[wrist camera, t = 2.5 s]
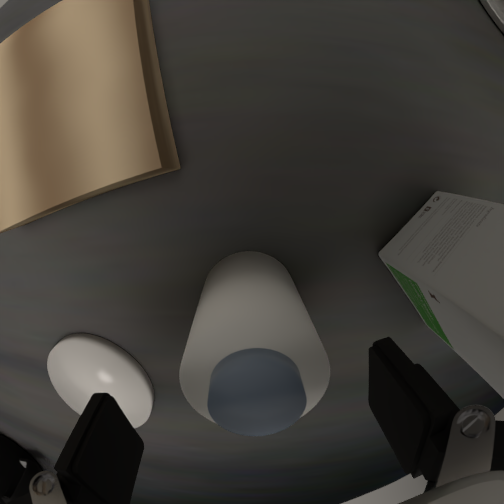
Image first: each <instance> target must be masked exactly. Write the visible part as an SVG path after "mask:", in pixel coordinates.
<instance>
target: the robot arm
mask: <svg viewBox="0 0 504 504" xmlns="http://www.w3.org/2000/svg"><path fill="white" fill-rule="evenodd" d="M480 1H481V3H482V5H483V6H484V8H485V9H486V11H487V12H488V14H489V15H490V16H491V18H492V19H493V20H494V22H495V23H496V25H497V26H498V27H499V28H500V30H501V31H502V32H503V34H504V0H480ZM368 400H369V406H370V408H371V410H372V412H373V414H374V416H375V418H376V419H377V421H378V423H379V425H380V427H381V429H382V430H383V432H384V434H385V436H386V438H387V440H388V442H389V444H390V445H391V447H392V449H393V451H394V453H395V455H396V457H397V459H398V460H399V462H400V464H401V466H402V468H403V470H404V472H405V473H406V474H409V473H411V475H412V477H413V478H416V477H418V476H420V475H422V474H423V476H424V478H425V479H426V480H428V482H427V485H426V488H425V491H424V493H423V494H420V495H418V496H416V497H413V498H411V499H408V500H406V501H404V502H402V503H399V504H504V421H495V417H494V415H493V413H492V412H491V411H490V410H489V409H488V408H486V407H484V406H480V405H471V406H467V407H465V408H463V409H461V410H460V409H459V408H458V407H457V406H456V405H455V403H454V402H453V401H452V400H451V399H450V398H449V396H448V395H447V394H446V393H445V392H444V391H443V390H442V388H441V387H440V386H439V385H438V384H437V383H436V382H435V380H434V379H433V378H432V377H431V376H430V375H429V374H428V373H427V371H426V370H425V369H424V368H423V367H422V366H421V365H420V364H413V363H412V361H411V360H410V359H409V358H408V357H407V356H406V355H405V353H404V352H403V351H402V350H401V349H400V348H399V347H398V346H397V345H396V343H395V342H394V341H393V340H392V339H391V338H390V337H387V338H384V339H381V340H378V341H375V342H374V343H373V347H370V348H369V398H368ZM143 450H144V443H143V441H142V439H141V438H140V436H139V435H138V433H137V432H136V431H135V429H134V428H133V426H132V425H131V423H130V422H129V420H128V419H127V417H126V416H125V414H124V413H123V411H122V409H121V408H120V406H119V405H118V403H117V401H116V400H115V398H114V397H113V396H111V395H110V394H109V393H94V394H93V395H92V396H91V398H90V400H89V402H88V403H87V405H86V407H85V409H84V411H83V412H82V414H81V416H80V418H79V420H78V422H77V424H76V425H75V427H74V429H73V431H72V433H71V435H70V437H69V439H68V441H67V443H66V445H65V447H64V448H63V450H62V452H61V454H60V456H59V458H58V461H57V463H56V465H55V467H54V469H55V470H56V471H57V474H54V473H53V472H51V471H41V472H39V473H37V474H36V475H35V476H34V477H33V478H32V480H31V481H30V485H29V489H30V493H28V494H25V495H23V496H21V497H19V498H17V499H14V500H12V501H10V502H7V503H6V504H130V500H131V496H132V492H133V488H134V484H135V480H136V476H137V472H138V469H139V465H140V461H141V457H142V454H143Z"/></svg>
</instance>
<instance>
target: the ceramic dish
mask: <svg viewBox="0 0 504 504" xmlns="http://www.w3.org/2000/svg"><path fill="white" fill-rule="evenodd" d="M47 366H48V373H49V376H50V379H51V382H52V384H53V386H54V388H55V389H56V391H57V392H58V394H59V395H60V396H61V398H62V399H63V400H64V401H65V402H66V403H67V404H68V405H69V406H70V407H71V408H72V409H73V410H74V411H76V412H77V413H78V414H80V415H81V414H82V412H83V411H84V409H85V407H86V405H87V403H88V402H89V400H90V398H91V396H92V395H93V394H94V393H109V394H110V395H111V396H113V397H114V398H115V400H116V401H117V403H118V405H119V406H120V408H121V409H122V411H123V413H124V414H125V416H126V417H127V419H128V420H129V422H130V423H131V425H132V426H133V428H137V427H139V426H141V425H142V424H144V423H145V422H146V421H147V419H148V418H149V416H150V413H151V410H152V407H153V403H154V389H153V386H152V383H151V381H150V378H149V377H148V375H147V373H146V372H145V370H144V369H143V368H142V366H141V365H140V364H139V363H138V362H137V361H136V360H135V359H134V358H133V357H132V356H131V355H130V354H129V353H127V352H126V351H125V350H124V349H122V348H121V347H119V346H118V345H116V344H114V343H112V342H111V341H109V340H106V339H104V338H102V337H99V336H96V335H92V334H86V333H75V334H71V335H68V336H66V337H64V338H63V339H61V340H60V342H59V343H58V344H57V345H56V346H55V347H54V348H53V349H52V350H51V352H50V354H49V357H48V362H47Z"/></svg>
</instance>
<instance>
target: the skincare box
mask: <svg viewBox="0 0 504 504" xmlns="http://www.w3.org/2000/svg"><path fill="white" fill-rule="evenodd" d="M378 255H379V257H380V258H381V260H382V261H383V263H384V264H385V265H386V266H387V268H388V269H389V270H390V272H391V274H392V275H393V277H394V278H395V280H396V281H397V283H398V284H399V285H400V287H401V288H402V290H403V291H404V293H405V294H406V295H407V297H408V298H409V300H410V301H411V303H412V304H413V306H414V307H415V309H416V310H417V312H418V313H419V315H420V317H421V318H422V320H423V322H424V323H425V324H426V325H427V326H428V327H429V328H430V329H431V330H432V331H433V332H434V333H435V334H436V335H438V336H439V337H440V338H441V339H442V340H443V341H444V342H445V343H446V344H448V345H449V346H450V347H451V348H452V349H453V350H454V351H455V352H456V353H457V354H458V355H459V356H461V357H462V358H463V359H464V360H465V361H466V362H467V363H468V364H469V365H470V366H471V367H472V368H473V369H474V370H475V371H476V372H477V373H478V374H479V375H480V376H481V377H482V378H483V379H484V380H486V381H487V382H488V383H489V384H490V385H491V386H492V387H493V388H494V389H495V390H496V391H497V392H498V393H499V394H500V395H501V396H502V397H503V398H504V204H500V203H496V202H491V201H487V200H482V199H477V198H472V197H467V196H462V195H457V194H452V193H447V192H440V191H436V192H435V193H434V194H433V196H432V197H431V198H430V199H429V200H428V201H427V202H426V203H425V204H424V206H423V207H422V208H421V209H420V210H419V211H418V212H417V213H416V214H415V215H414V216H413V217H412V219H411V220H410V221H409V222H408V223H407V224H406V225H405V226H404V227H403V228H402V229H401V230H400V231H399V232H398V233H397V234H396V235H395V236H394V237H393V238H392V239H391V240H390V241H389V243H388V244H387V245H386V246H385V247H384V248H383V249H381V250H380V251H379V254H378Z"/></svg>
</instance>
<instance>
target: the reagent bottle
mask: <svg viewBox="0 0 504 504" xmlns="http://www.w3.org/2000/svg"><path fill="white" fill-rule="evenodd" d="M329 379H330V363H329V359H328V356H327V354H326V351H325V349H324V347H323V345H322V342H321V340H320V338H319V336H318V334H317V331H316V329H315V327H314V325H313V323H312V321H311V318H310V316H309V314H308V312H307V310H306V308H305V306H304V303H303V301H302V299H301V297H300V295H299V293H298V291H297V289H296V286H295V284H294V282H293V280H292V278H291V276H290V274H289V272H288V271H287V269H286V268H285V267H284V265H282V264H281V263H280V262H279V261H278V260H277V259H275V258H273V257H272V256H270V255H267V254H264V253H261V252H256V251H243V252H237V253H234V254H231V255H229V256H227V257H225V258H223V259H222V260H220V261H219V262H218V263H217V264H216V265H215V266H214V267H213V268H212V269H211V271H210V272H209V274H208V276H207V278H206V281H205V284H204V287H203V290H202V294H201V297H200V300H199V303H198V307H197V310H196V313H195V317H194V320H193V323H192V327H191V330H190V334H189V337H188V341H187V344H186V348H185V351H184V355H183V358H182V362H181V365H180V371H179V381H180V386H181V389H182V392H183V394H184V396H185V398H186V399H187V401H188V402H189V404H190V405H191V406H192V407H193V408H194V409H195V410H196V411H197V412H198V413H199V414H201V415H202V416H204V417H205V418H207V419H209V420H210V421H212V422H214V423H217V424H218V425H219V426H221V427H222V428H224V429H226V430H228V431H230V432H232V433H236V434H240V435H245V436H264V435H269V434H274V433H277V432H280V431H282V430H284V429H286V428H288V427H290V426H291V425H293V424H294V423H295V422H296V421H297V420H298V419H299V418H300V417H302V416H303V415H305V414H306V413H307V412H309V411H310V410H311V409H312V408H313V407H314V406H315V405H316V404H317V403H318V402H319V401H320V399H321V398H322V396H323V395H324V393H325V391H326V389H327V386H328V383H329Z"/></svg>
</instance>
